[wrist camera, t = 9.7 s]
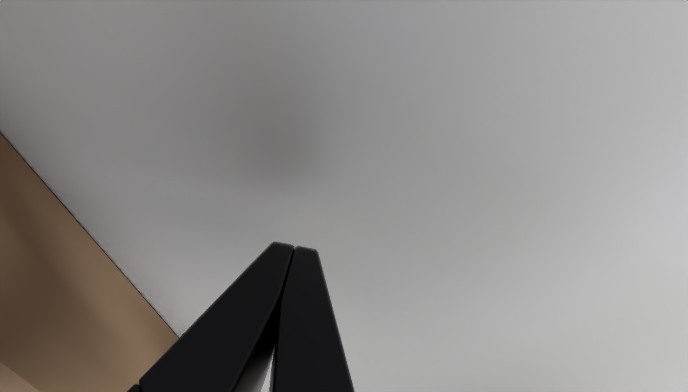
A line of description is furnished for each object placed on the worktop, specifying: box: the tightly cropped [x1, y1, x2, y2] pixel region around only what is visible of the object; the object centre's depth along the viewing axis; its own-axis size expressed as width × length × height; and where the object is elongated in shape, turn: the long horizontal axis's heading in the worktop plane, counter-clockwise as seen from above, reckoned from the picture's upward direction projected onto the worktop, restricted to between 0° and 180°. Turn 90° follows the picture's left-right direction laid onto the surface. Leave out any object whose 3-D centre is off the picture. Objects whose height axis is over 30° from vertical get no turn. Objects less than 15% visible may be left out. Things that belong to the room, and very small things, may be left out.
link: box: [0, 133, 179, 392], centre depth 11 cm, size 18×6×3 cm, turn 17°
